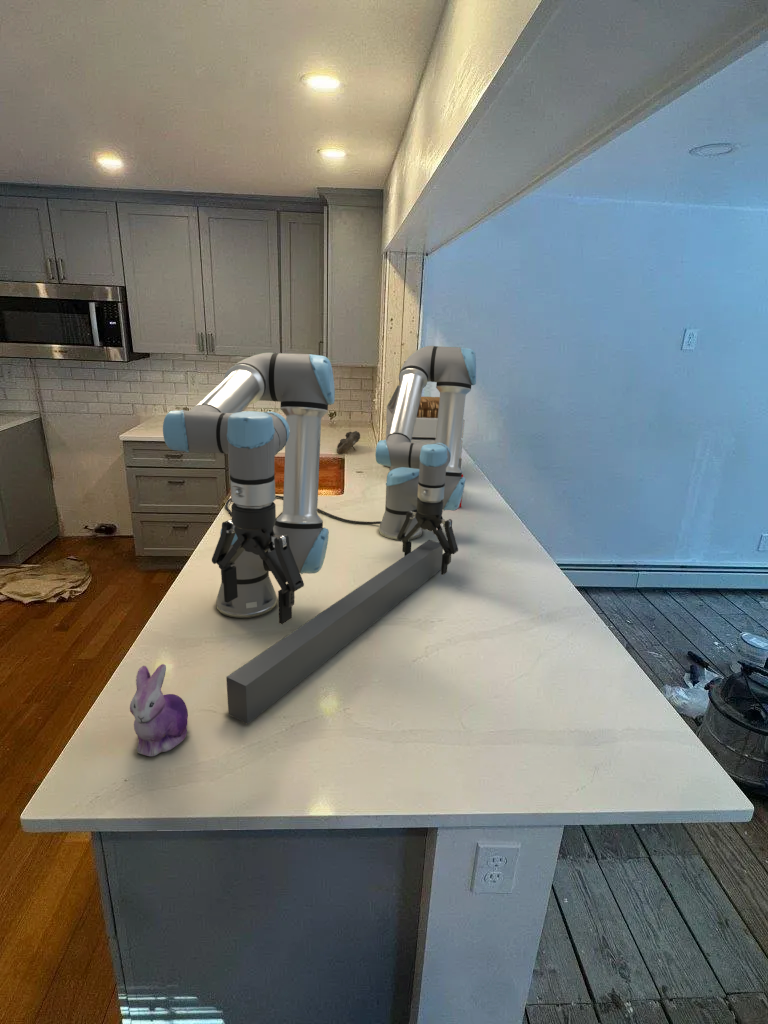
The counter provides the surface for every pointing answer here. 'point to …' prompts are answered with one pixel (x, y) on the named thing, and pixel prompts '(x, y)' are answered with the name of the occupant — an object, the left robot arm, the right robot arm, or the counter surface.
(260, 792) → the counter surface
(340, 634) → the beam
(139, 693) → the figurine
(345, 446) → the fossil
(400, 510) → the right robot arm
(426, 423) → the grey bottle crate
